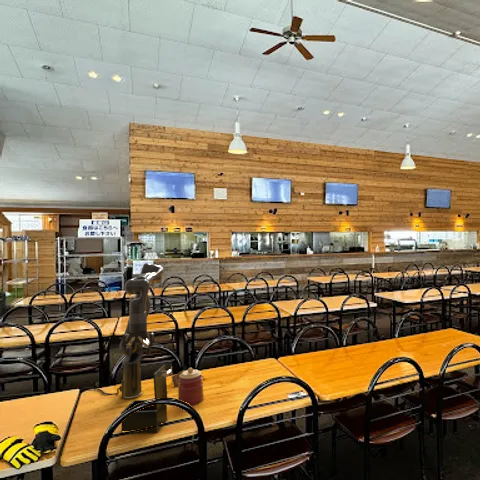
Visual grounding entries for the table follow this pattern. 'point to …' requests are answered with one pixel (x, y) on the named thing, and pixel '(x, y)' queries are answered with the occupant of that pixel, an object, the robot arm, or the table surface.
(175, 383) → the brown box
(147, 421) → the trash bin
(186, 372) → the kitchen canister
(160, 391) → the bin lid
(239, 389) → the table surface
